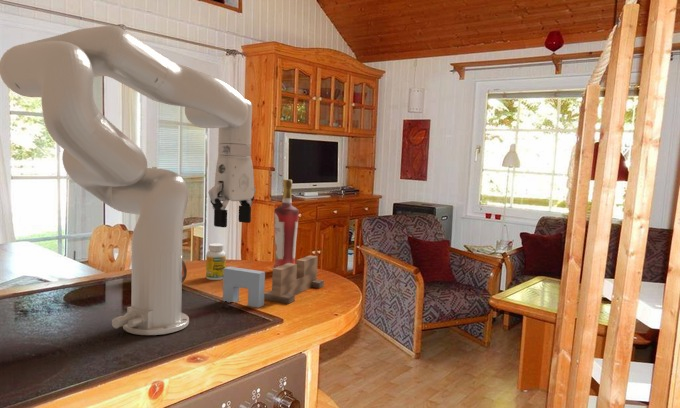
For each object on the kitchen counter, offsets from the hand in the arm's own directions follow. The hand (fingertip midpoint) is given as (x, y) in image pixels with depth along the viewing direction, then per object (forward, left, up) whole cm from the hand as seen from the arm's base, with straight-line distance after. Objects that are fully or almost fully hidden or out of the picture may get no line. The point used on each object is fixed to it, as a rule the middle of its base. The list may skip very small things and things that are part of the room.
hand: (232, 224), depth 121 cm
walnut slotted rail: (+15, -10, -18) cm, 26 cm away
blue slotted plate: (0, -4, -18) cm, 19 cm away
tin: (+3, +24, -19) cm, 31 cm away
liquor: (+34, +4, -19) cm, 39 cm away
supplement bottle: (+16, +16, -19) cm, 30 cm away
